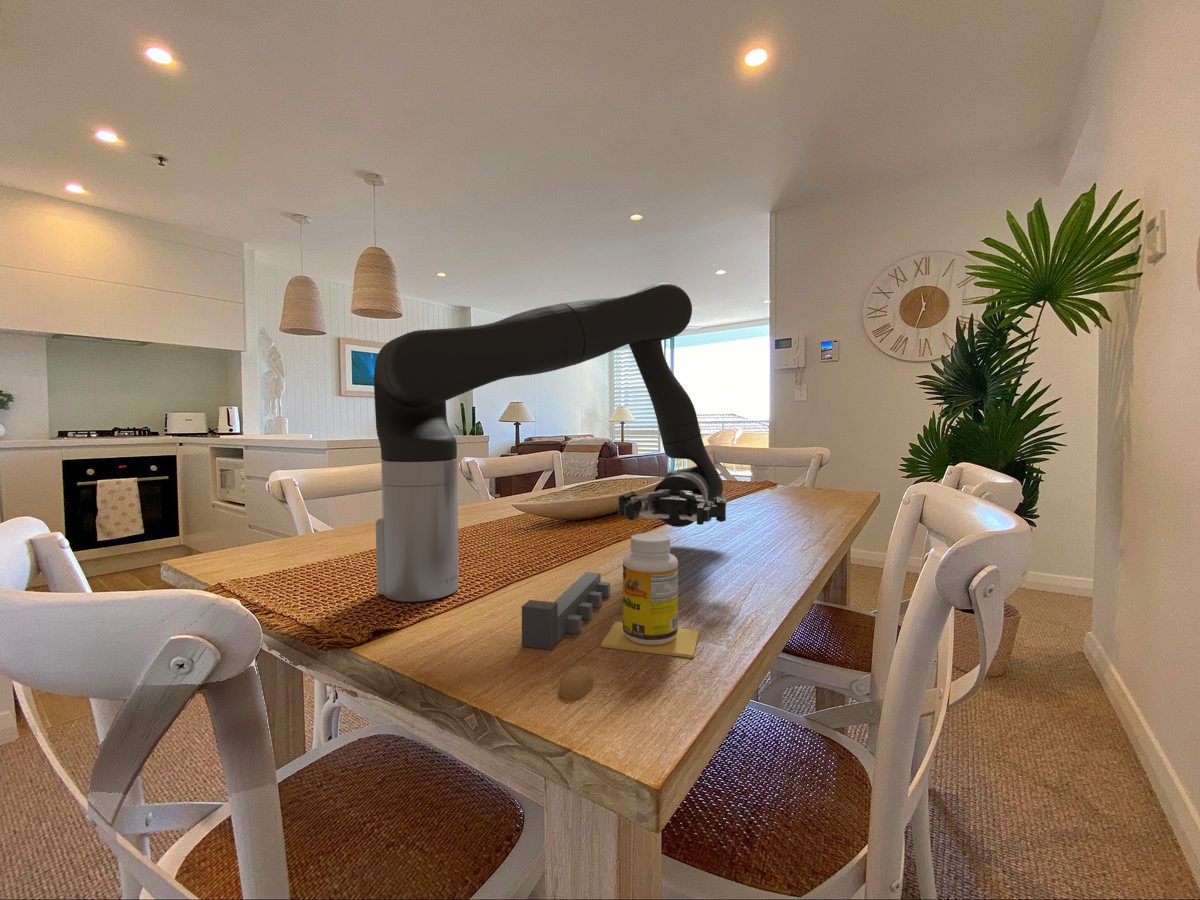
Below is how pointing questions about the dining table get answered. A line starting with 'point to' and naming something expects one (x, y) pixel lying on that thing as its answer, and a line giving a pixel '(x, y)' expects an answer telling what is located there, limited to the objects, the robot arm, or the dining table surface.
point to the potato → (576, 683)
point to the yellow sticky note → (677, 647)
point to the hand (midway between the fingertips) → (664, 514)
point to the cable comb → (562, 612)
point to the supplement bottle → (650, 590)
